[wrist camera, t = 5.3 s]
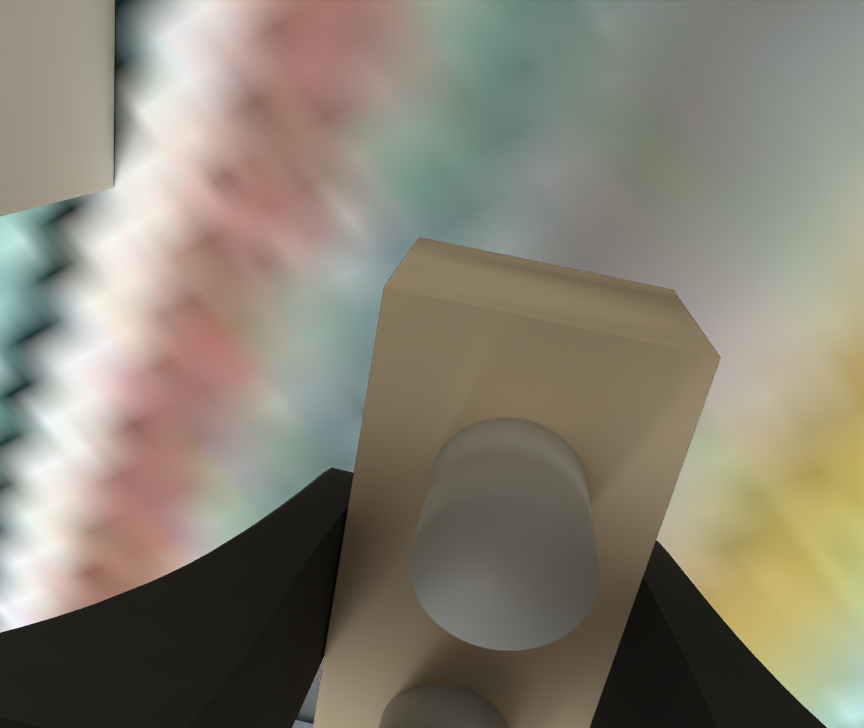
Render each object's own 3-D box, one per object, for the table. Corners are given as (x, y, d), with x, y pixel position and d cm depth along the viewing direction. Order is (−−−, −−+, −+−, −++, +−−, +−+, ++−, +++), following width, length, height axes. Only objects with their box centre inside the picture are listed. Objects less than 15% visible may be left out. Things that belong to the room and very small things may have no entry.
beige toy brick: (537, 719, 15) (541, 996, 10) (342, 672, 15) (262, 924, 10) (672, 289, 11) (767, 424, 7) (419, 237, 11) (349, 334, 7)
